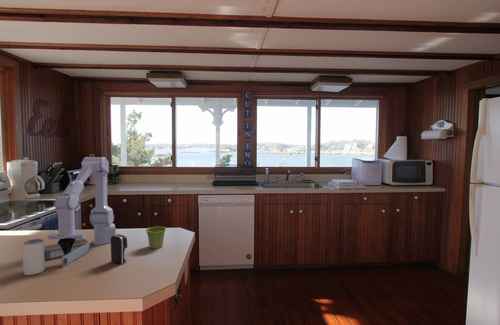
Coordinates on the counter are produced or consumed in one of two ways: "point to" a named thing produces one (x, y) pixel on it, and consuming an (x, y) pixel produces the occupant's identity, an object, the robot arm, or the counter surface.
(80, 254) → the grey bar handle
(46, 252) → the grey rectangular box
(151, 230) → the plant pot
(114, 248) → the battery charger
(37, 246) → the can
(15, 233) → the counter surface
